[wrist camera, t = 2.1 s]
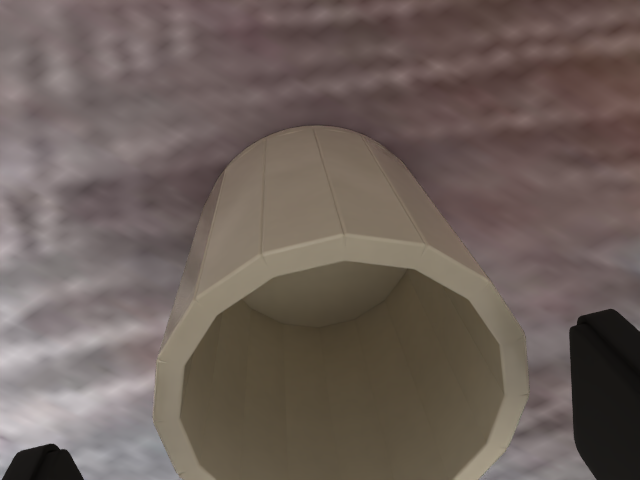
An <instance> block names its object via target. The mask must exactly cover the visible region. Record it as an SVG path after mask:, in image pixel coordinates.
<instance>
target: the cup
mask: <svg viewBox="0 0 640 480" xmlns="http://www.w3.org/2000/svg"><path fill="white" fill-rule="evenodd" d="M529 393H530V387H529V374H528V361H527V348H526V336H525V333H524V331H523V329H522V328H521V326H520V325H519V323H518V322H517V320H516V319H515V317H514V316H513V314H512V312H511V311H510V309H509V308H508V306H507V305H506V303H505V302H504V300H503V299H502V297H501V296H500V294H499V293H498V291H497V289H496V288H495V286H494V285H493V283H492V282H491V281H490V279H489V278H488V277H487V275H486V274H485V272H484V271H483V270H482V268H481V267H480V266H479V264H478V263H477V262H476V260H475V259H474V258H473V256H472V255H471V254H470V252H469V251H468V250H467V248H466V247H465V246H464V244H463V243H462V241H461V240H460V239H459V237H458V236H457V235H456V233H455V232H454V231H453V229H452V228H451V227H450V225H449V224H448V223H447V221H446V220H445V219H444V217H443V216H442V214H441V213H440V212H439V210H438V209H437V208H436V206H435V205H434V204H433V202H432V201H431V200H430V198H429V197H428V196H427V194H426V193H425V192H424V190H423V189H422V187H421V186H420V185H419V183H418V182H417V181H416V179H415V178H414V177H413V175H412V174H411V173H410V171H409V170H408V169H407V167H406V166H405V165H404V163H403V162H402V161H401V160H400V159H399V158H397V157H396V156H394V155H393V154H392V153H391V152H390V151H389V150H388V149H386V148H385V147H384V146H382V145H381V144H379V143H378V142H376V141H374V140H372V139H371V138H369V137H367V136H365V135H362V134H360V133H357V132H354V131H352V130H348V129H343V128H339V127H333V126H321V125H317V126H301V127H296V128H290V129H286V130H283V131H280V132H276V133H273V134H271V135H269V136H267V137H265V138H262V139H260V140H258V141H257V142H255V143H254V144H252V145H251V146H249V147H247V148H246V149H245V150H243V151H242V152H241V153H240V154H239V155H238V156H236V157H235V158H234V159H233V160H232V161H231V162H230V164H229V165H228V166H227V167H226V168H225V169H224V170H223V172H222V173H221V175H220V176H219V178H218V179H217V181H216V183H215V185H214V187H213V189H212V191H211V193H210V195H209V198H208V199H207V201H206V203H205V205H204V207H203V210H202V213H201V216H200V220H199V223H198V226H197V229H196V233H195V236H194V239H193V243H192V246H191V249H190V252H189V256H188V259H187V262H186V265H185V269H184V272H183V275H182V278H181V282H180V285H179V288H178V291H177V295H176V298H175V301H174V305H173V308H172V311H171V314H170V318H169V321H168V324H167V327H166V331H165V334H164V337H163V340H162V344H161V347H160V350H159V353H158V357H157V360H156V371H155V386H154V400H153V415H152V418H153V423H154V425H155V428H156V430H157V432H158V434H159V436H160V438H161V441H162V443H163V445H164V447H165V449H166V451H167V454H168V456H169V458H170V460H171V462H172V465H173V467H174V469H175V471H176V473H177V474H178V475H179V477H180V478H182V479H183V480H479V478H480V477H481V476H482V475H483V474H484V473H485V472H486V471H487V470H488V469H489V468H490V467H491V466H492V465H493V464H494V463H495V462H496V461H497V460H498V459H499V458H500V457H501V455H502V454H503V453H504V452H505V451H506V449H507V448H508V447H509V445H510V442H511V440H512V437H513V435H514V432H515V430H516V427H517V425H518V423H519V420H520V418H521V415H522V413H523V410H524V408H525V405H526V403H527V400H528V398H529Z"/></svg>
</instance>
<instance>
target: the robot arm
mask: <svg viewBox="0 0 640 480" xmlns="http://www.w3.org/2000/svg"><path fill="white" fill-rule="evenodd" d="M569 336H570V359H571V382H572V405H573V428H574V440H575V444H576V447H577V450H578V452H579V454H580V456H581V457H582V459H583V460H584V462H585V463H586V465H587V466H588V468H589V469H590V471H591V472H592V474H593V475H594V476H595V478H596V479H597V480H640V331H638V330H637V329H636V328H635V327H634V326H633V325H632V324H631V323H630V322H628V321H627V320H626V319H625V318H624V317H623V316H622V315H621V314H619V313H618V312H617V311H615V310H614V309H608V310H604V311H599V312H595V313H591V314H587V315H583V316H580V317H579V318H578V321H577V325H576V326H572V327H571V328H570V332H569ZM2 480H84V479H83V477H82V475H81V473H80V471H79V470H78V468H77V466H76V464H75V462H74V461H73V459H72V457H71V455H70V454H69V452H68V451H67V450H65V449H61V450H60V449H59V448H58V446H56V445H55V444H47V445H43V446H39V447H35V448H31V449H27V450H22V451H20V452H18V453H17V454H16V456H15V457H14V458H13V460H12V462H11V464H10V466H9V468H8V469H7V471H6V473H5V475H4V477H3V479H2Z"/></svg>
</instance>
